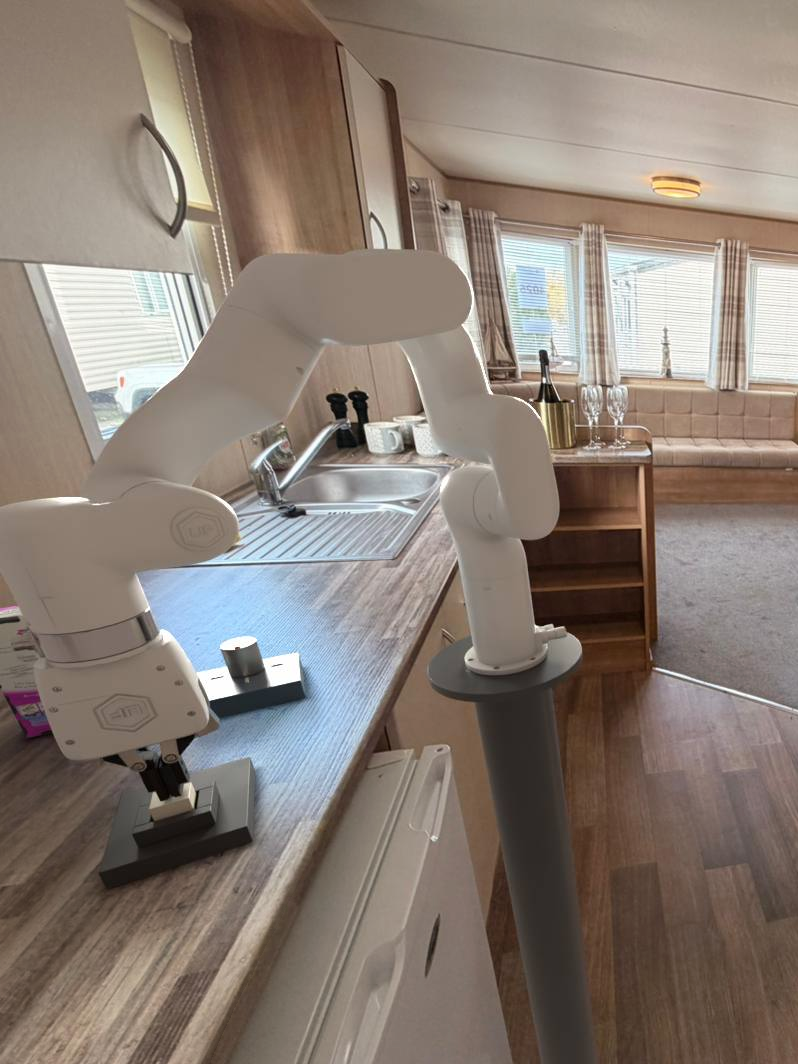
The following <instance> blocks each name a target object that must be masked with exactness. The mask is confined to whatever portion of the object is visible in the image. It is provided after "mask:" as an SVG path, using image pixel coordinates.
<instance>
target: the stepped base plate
mask: <svg viewBox="0 0 798 1064" xmlns="http://www.w3.org/2000/svg"><path fill="white" fill-rule="evenodd" d="M189 775H190V780H189V782H186V783H184V784H187V783H190V782H191V783H192V785H193V788H194V790H195V792H196V795H197V796H196V802H195V809H194V810H192V811H188V812H185V813H181V814H178V815H175V816H171V817H168V818H164V819H161V820H158V821H154V819H153V817H152V815H151V813H150V811H149V807H150V803H151V799H152V795H153V793H154V792H155V791H154V792H151V793H149V792H148V791H147V789H146V787H145V785H144V784H143V785H140V786H136V787H133V788H132V787H131V788H129V789H125V790H122V792H121V796H120V798H119V802H118V805H117V807H116V808H117V809H116V812H115V816H114V818H113V822H112V826H111V829H110V832H109V835H108V839H107V842H106V846H105V849H104V852H103V857H102V859H101V862H100V866H99V868H98V876H99V878H100V881H102V884H103V885H104V887H105V889H106V891H107V890H111V889H113V888H114V889H115V888H117V887H121V886H123V885H127V884H130V883H132V882H135V881H138V880H142V879H144V878H148V877H151V876H154V875H157V874H159V873H162V872H166V871H169V870H171V869H175V868H177V867H178V868H179V867H181V866H184V865H186V864H191V863H193V862H197V861H200V860H202V859H205V858H209V857H211V856H214V855H217V854H220V853H224V852H227V851H229V850H233V849H237V848H238V847H242V846H245V845H249V844H251V843H253V842H254V826H255V825H254V823H255V795H256V794H255V793H256V792H255V790H256V789H255V788H256V769H255V765H254V763H253V761H252V758H251V756H248V757H244V758H240V759H236V760H233V761H229V762H225V763H221V764H217V765H214V766H211V767H207V768H203V769H198V770H195V771H192V772H189Z"/></svg>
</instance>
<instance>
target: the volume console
mask: <svg viewBox="0 0 798 1064" xmlns="http://www.w3.org/2000/svg"><path fill="white" fill-rule="evenodd" d="M262 659H263V658H262ZM263 662H264V665H265V668H264V669H263V670H262V671H260V672H258V673H256V674H253V675H250V676H246V677H232V676H230V674H229V672H228V669H227V666H223V667H220V668H219V667H218V668H213V669H208V670H203V671H199V672H197V674H198V676H199V678H200V680H201V682H202V684H203V686H204V688H205V690H206V692H207V695H208V698H209V701H210V708H211V709H212V711H213V712H214V713H215V714H216V715H217V716H218V717H219V719H222V718H227V717H231V716H236V715H241V714H244V713H248V712H253V711H257V710H260V709H265V708H269V707H273V706H278V705H283V704H286V703H290V702H291V703H292V702H296V701H299V700H303V699H306V698H307V695H306V684H305V674H304V673H305V672H304V667H303V663H302V659H301V656H300V653H299V652H293V653H288V654H283V655H278V656H273V657H268V658H264V659H263Z"/></svg>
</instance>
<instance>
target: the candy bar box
mask: <svg viewBox="0 0 798 1064" xmlns="http://www.w3.org/2000/svg"><path fill="white" fill-rule="evenodd" d="M29 630H30V628H29V627H28V625H27V623H26V621H25V619H24V617H23V615H22V613H21V611H20V609H19V607H18V605H14V606H13V605H11V606H5V607H0V691H1V693H2V694H3V697H4V699H5V700H6V702H7V704H8V706H9V708H10V709H11V712H12V714H13V715H14V717H15V719H16V721H17V723H18V725H19V726H20V728H21V731H22V732H23V734H24V736H25V738H29V739H30V738H35V737H41V736H44V735H45V736H46V735H50V734H53V732H52V729H51V727H50V724H49V722H48V719H47V716H46V714H45V711H44V708H43V705H42V702H41V699H40V696H39V692H38V689H37V685H36V680H35V675H34V667H33V665H34V663H35V662H36V661H38V659H39V658H40V655H39V653H37V652H36V651H35V650H27V649H26V650H20V651H15V650H14V649H13V648H12V646H11V643H10V638H11V637H13V636H19V635H22V634H23V633H27V632H28V631H29Z"/></svg>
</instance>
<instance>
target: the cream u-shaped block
mask: <svg viewBox="0 0 798 1064" xmlns="http://www.w3.org/2000/svg"><path fill="white" fill-rule="evenodd" d="M196 796H197V795H196V792H195V790H194V788H193V785H192V783H191V782H190V783H187V784H184V787H183V793H182V796H179V797H172V796H170V798H168V800H165V801H160V800H159V798H158V796H157V794H156V792H154V793H153V795H152V799H151V803H150V807H149V811H150V813H151V815H152V817H153V819H154V821H158V820H161V819H164V818H168V817H171V816H175V815H178V814H181V813H185V812H188V811H192V810H194V809H195V802H196Z"/></svg>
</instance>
